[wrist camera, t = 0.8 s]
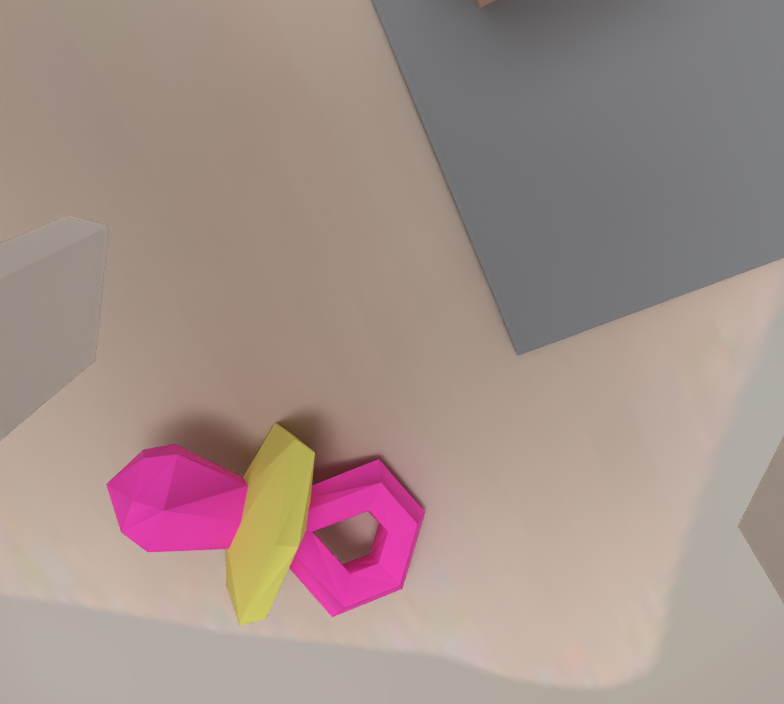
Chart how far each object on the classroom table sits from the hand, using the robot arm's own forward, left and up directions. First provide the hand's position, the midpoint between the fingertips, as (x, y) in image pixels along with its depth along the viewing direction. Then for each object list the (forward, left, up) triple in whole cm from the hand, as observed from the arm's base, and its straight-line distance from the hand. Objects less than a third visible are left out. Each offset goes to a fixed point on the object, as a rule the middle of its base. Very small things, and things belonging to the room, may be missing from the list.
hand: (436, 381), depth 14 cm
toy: (+13, -16, -27) cm, 34 cm away
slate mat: (-1, +9, -27) cm, 28 cm away
